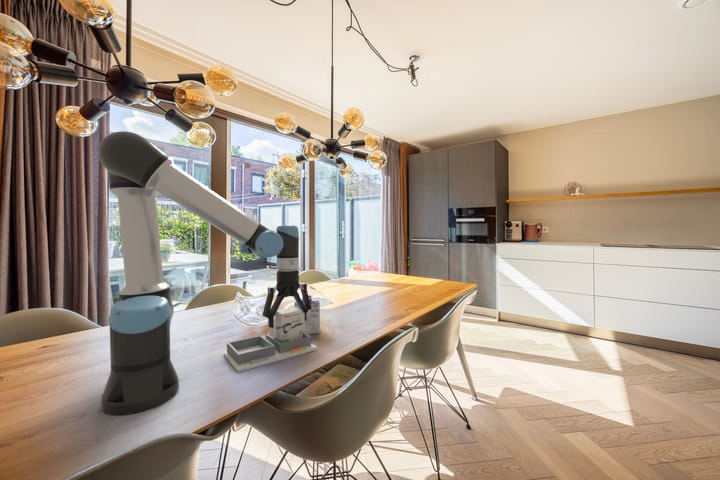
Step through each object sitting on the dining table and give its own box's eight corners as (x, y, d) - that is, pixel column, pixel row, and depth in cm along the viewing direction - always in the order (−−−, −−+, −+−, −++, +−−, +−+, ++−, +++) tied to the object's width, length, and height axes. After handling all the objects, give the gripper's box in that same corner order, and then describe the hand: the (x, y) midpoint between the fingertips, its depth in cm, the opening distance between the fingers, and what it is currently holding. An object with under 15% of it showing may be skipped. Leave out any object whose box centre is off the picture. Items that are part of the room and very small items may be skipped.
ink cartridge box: (318, 329, 123) (318, 294, 122) (320, 333, 118) (320, 297, 117) (294, 331, 120) (294, 295, 120) (295, 335, 115) (294, 298, 114)
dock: (237, 372, 85) (237, 358, 85) (223, 355, 97) (223, 342, 97) (316, 349, 101) (316, 337, 101) (296, 337, 113) (296, 326, 113)
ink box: (281, 349, 99) (280, 313, 99) (274, 344, 103) (273, 310, 103) (303, 342, 105) (303, 309, 105) (296, 338, 109) (295, 306, 108)
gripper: (259, 273, 93) (260, 344, 94) (321, 268, 107) (321, 329, 108) (251, 271, 99) (251, 337, 100) (311, 266, 113) (311, 324, 114)
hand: (288, 333), depth 104 cm, fingers open, 10 cm apart
